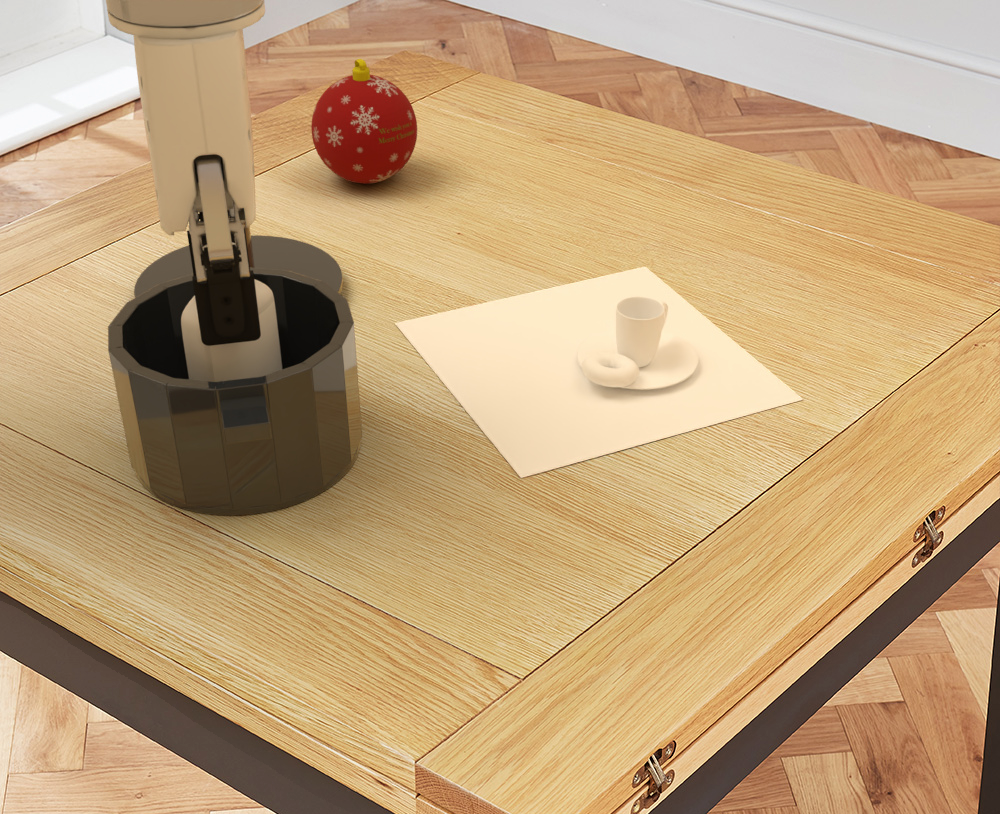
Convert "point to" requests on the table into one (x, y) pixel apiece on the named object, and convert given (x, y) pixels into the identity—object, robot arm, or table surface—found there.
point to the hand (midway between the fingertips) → (227, 313)
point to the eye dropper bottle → (233, 345)
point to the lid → (252, 262)
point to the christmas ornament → (364, 127)
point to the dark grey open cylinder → (239, 403)
